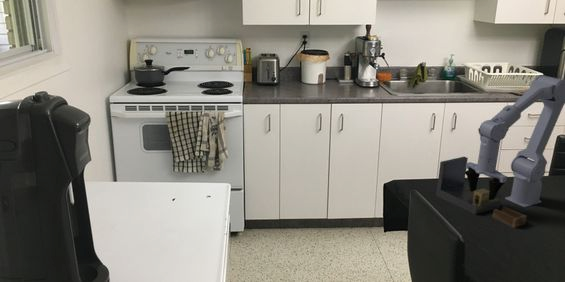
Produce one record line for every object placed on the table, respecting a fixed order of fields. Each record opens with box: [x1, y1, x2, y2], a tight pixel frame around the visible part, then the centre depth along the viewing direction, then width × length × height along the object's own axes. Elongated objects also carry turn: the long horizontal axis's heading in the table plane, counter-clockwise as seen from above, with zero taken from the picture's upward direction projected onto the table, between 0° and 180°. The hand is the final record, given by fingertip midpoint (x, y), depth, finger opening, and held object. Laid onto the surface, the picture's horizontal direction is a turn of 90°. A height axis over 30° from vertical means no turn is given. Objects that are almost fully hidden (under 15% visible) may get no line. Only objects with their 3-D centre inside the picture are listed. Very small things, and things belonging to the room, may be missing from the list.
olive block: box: [473, 187, 490, 203], centre depth 164 cm, size 4×3×6 cm
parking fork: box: [491, 206, 527, 229], centre depth 155 cm, size 5×8×3 cm
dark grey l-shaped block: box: [435, 156, 501, 215], centre depth 167 cm, size 12×17×13 cm
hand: (482, 194), depth 163 cm, fingers open, 7 cm apart
